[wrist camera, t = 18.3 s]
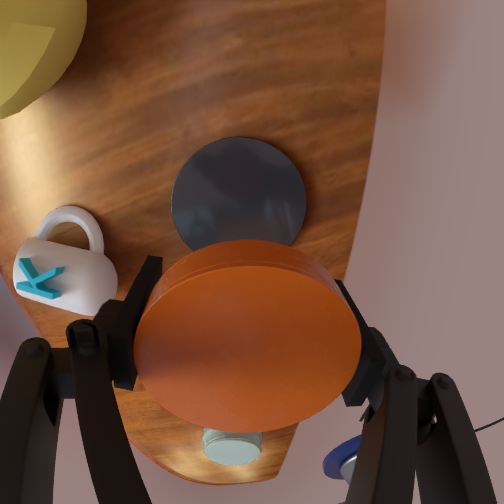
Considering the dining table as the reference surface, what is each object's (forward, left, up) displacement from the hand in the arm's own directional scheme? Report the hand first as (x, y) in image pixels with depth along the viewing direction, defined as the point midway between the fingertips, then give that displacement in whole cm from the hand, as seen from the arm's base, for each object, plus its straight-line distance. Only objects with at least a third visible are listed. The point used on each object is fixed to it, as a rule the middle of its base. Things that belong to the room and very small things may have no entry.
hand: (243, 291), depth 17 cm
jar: (-3, +27, -18) cm, 33 cm away
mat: (0, 0, -18) cm, 18 cm away
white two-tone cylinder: (+18, +8, -18) cm, 27 cm away
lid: (0, 0, +5) cm, 5 cm away
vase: (+26, -17, -18) cm, 36 cm away
